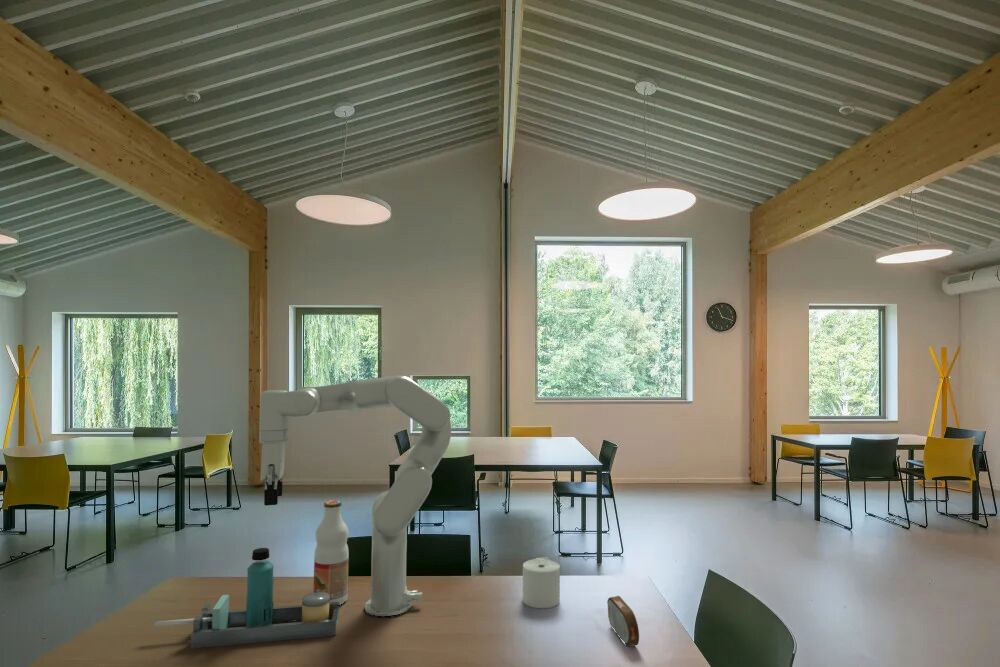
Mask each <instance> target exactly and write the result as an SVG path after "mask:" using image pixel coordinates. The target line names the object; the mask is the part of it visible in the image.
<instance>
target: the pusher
mask: <svg viewBox="0 0 1000 667" xmlns="http://www.w3.org/2000/svg"><path fill="white" fill-rule="evenodd" d="M229 603H230V594H222V595H221V596H220V597H219V599H218V601H217V603H216V604H215V605H214V607H213V609H212V612H213V616H212V617H207V618H203V622H212V628H211V629H223V628H229V626H228V616H229V611H230V609H229V608H230V604H229ZM194 619H195V617H194V618H185V619H172V620H159V621H155V622H154V623H153V626H154V627H161V626H173V625H185V624H187V625H188V624H193V620H194Z"/></svg>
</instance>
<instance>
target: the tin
mask: <svg viewBox="0 0 1000 667" xmlns="http://www.w3.org/2000/svg"><path fill="white" fill-rule="evenodd" d="M606 602H607V617H608V621H609V625H610V627H611V626H612V627H613V628H614V629H615V631H616V632H617V634H618V635H619V636H620V638H621V639H622V640H623V641H624V642H625V644H626V646H625V647H633V646H635V645H636V646H638V644H639V642H640V631H639V624H638V621H637V618H636V614H635V613H634V611H633V609H632V608H631V607H630V606H629V605H628V604H627V603H626V602H625V600H624V599H623V598H622V597H621V596H619V595H617V596H611V597H609V598H608V599H607V601H606ZM612 627H611V628H612ZM617 634H616V635H617ZM620 638H619V639H620ZM632 645H633V646H632Z"/></svg>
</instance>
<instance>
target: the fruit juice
mask: <svg viewBox="0 0 1000 667" xmlns="http://www.w3.org/2000/svg"><path fill="white" fill-rule="evenodd" d="M342 505H343V504H342V501H341V500H340V499H330V500H326V501H324V502H323V509H324V513H323V518H322V521H321V522H320V524H319V525H318V527H317V528H316V530H315V535H314V536H315V541H316V547H315V548H314V555H313V556H314V558H313V592H326V593H328V594H329V595H330V601H329V603H333V602H339V605H340V606H342V605H344V604H345V603H346V602H347V601H348V597H349V596H348V595H349V594H348V592H349V546H348V544H347V542H348V538H349V527H348V526H347V524H346V523H345V522H344V520H343V517H342V514H341V513H342V512H341V508H342ZM313 592H312V593H313ZM346 600H347V601H346ZM345 601H346V602H345ZM344 602H345V603H344ZM343 603H344V604H343ZM341 604H342V605H341Z"/></svg>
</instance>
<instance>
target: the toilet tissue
mask: <svg viewBox="0 0 1000 667" xmlns="http://www.w3.org/2000/svg"><path fill="white" fill-rule="evenodd" d="M560 571H561V566H560V563H558V562H556V561H554V560H551V559H550V556H543V557H536V558H533V559H529V560H527V561H525V562H523V563H522V602H523V603H524V604H525V605H526V606H529V607H531V608H535V609H550V608H553V607H557V606H558V605H560V601H561V599H560V597H561V594H560V593H561V592H560V590H561V589H560V587H561V586H560V582H561V581H560V579H561V574H560ZM556 605H557V606H556Z"/></svg>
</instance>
